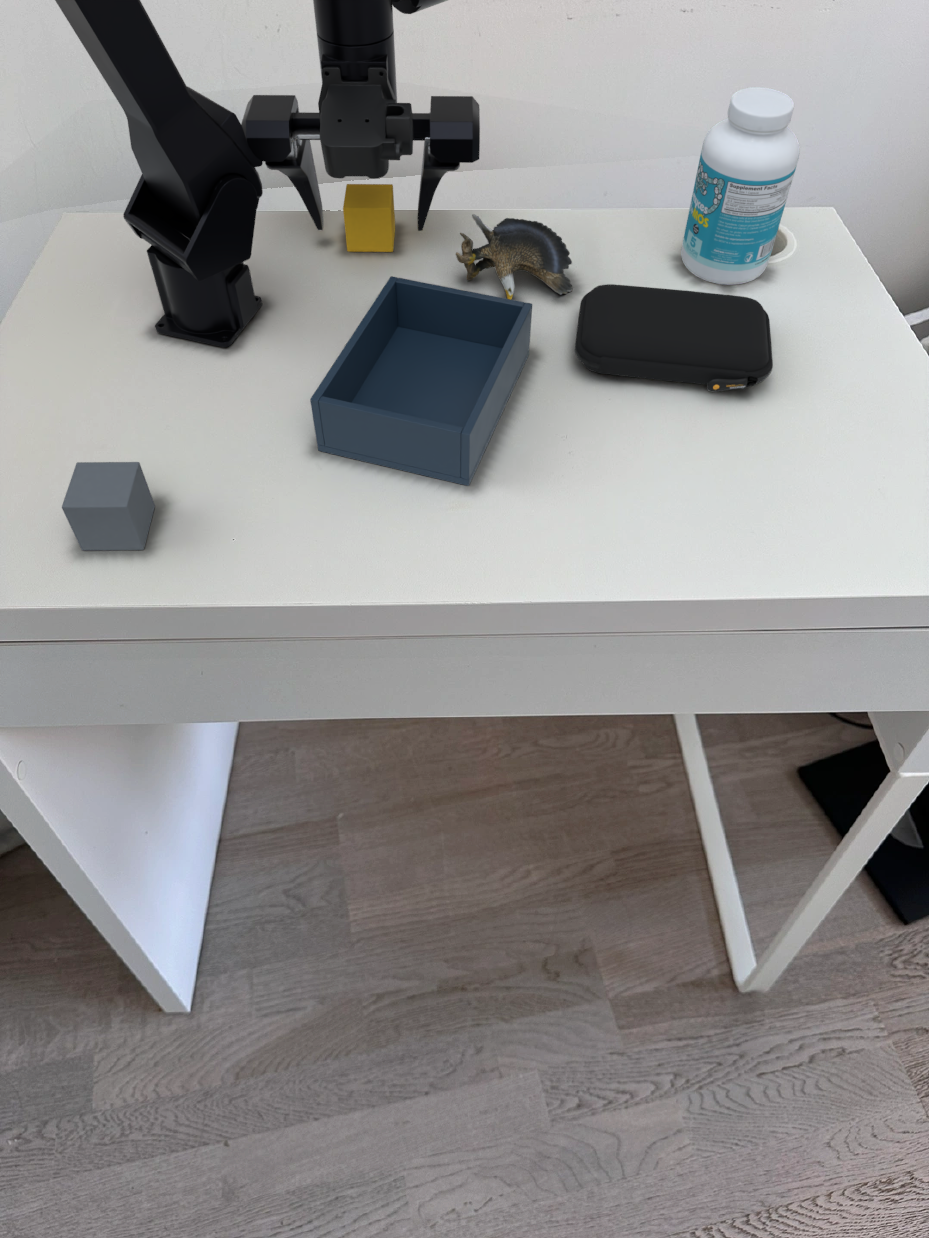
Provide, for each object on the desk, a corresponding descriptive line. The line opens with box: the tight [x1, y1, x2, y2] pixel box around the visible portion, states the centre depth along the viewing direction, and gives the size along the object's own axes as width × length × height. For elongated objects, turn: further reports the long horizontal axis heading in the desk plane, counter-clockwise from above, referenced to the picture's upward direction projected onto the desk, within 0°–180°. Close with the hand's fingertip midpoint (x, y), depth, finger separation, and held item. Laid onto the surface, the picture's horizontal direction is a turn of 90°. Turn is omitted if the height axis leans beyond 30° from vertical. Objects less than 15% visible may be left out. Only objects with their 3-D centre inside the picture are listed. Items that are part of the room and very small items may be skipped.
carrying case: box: [574, 283, 774, 393], centre depth 72 cm, size 11×3×15 cm
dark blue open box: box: [309, 276, 533, 487], centre depth 68 cm, size 11×15×5 cm
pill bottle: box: [680, 86, 801, 286], centre depth 75 cm, size 8×7×14 cm
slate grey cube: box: [61, 461, 156, 551], centre depth 60 cm, size 4×4×4 cm
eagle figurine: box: [455, 213, 574, 300], centre depth 76 cm, size 8×7×9 cm
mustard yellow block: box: [342, 183, 396, 253], centre depth 81 cm, size 4×4×4 cm
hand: (370, 228), depth 82 cm, fingers open, 8 cm apart
